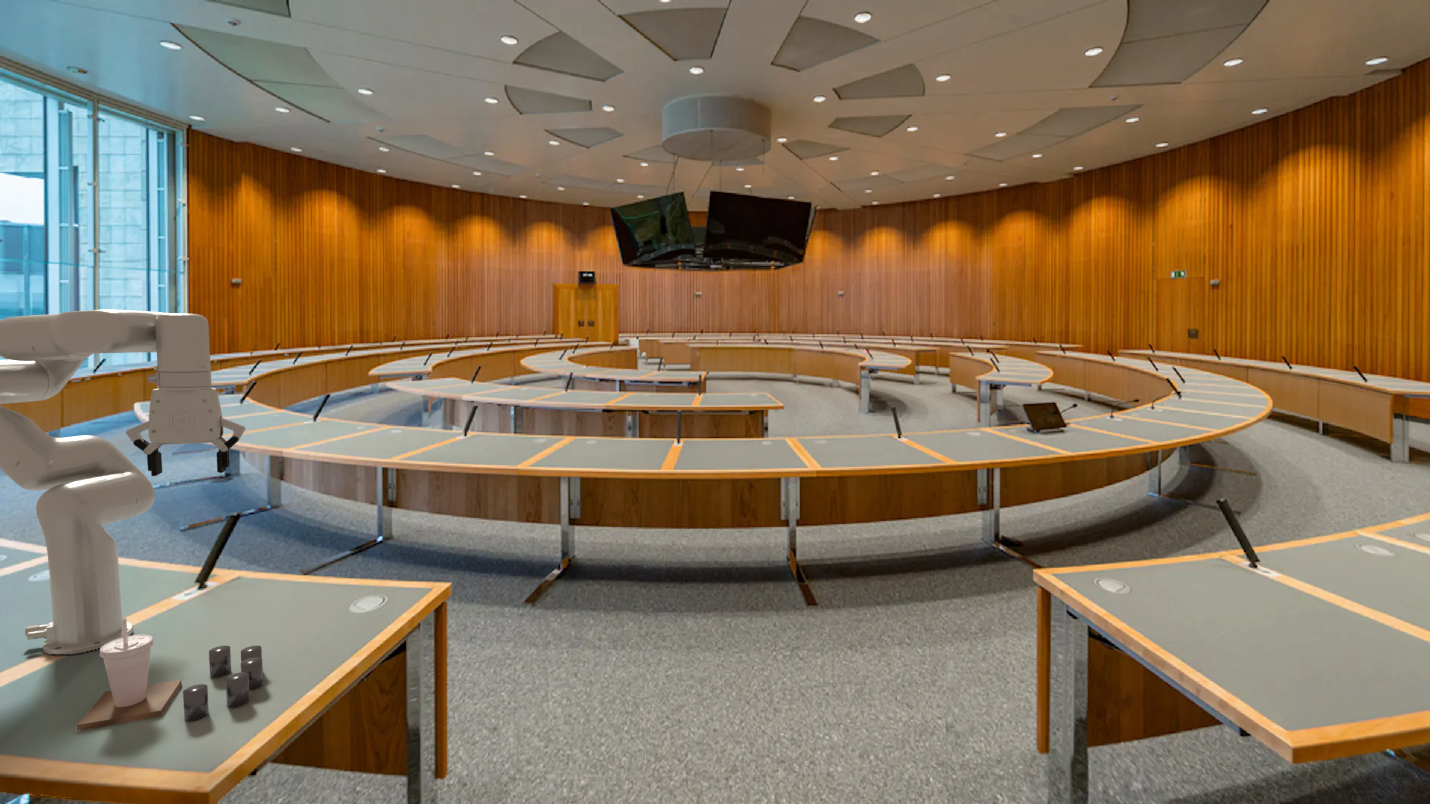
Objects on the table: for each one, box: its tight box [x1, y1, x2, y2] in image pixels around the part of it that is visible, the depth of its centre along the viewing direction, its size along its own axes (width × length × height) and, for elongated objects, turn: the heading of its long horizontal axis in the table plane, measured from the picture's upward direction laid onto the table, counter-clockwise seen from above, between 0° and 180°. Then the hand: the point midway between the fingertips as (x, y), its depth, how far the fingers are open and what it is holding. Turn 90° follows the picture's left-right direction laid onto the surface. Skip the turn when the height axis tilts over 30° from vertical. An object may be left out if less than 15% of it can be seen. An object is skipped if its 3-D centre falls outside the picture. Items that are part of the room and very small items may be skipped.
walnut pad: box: [76, 679, 183, 732], centre depth 103 cm, size 10×10×1 cm
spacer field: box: [182, 645, 264, 723], centre depth 109 cm, size 9×17×4 cm, turn 25°
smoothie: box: [99, 617, 154, 707], centre depth 103 cm, size 6×6×14 cm
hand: (190, 473), depth 119 cm, fingers open, 9 cm apart
